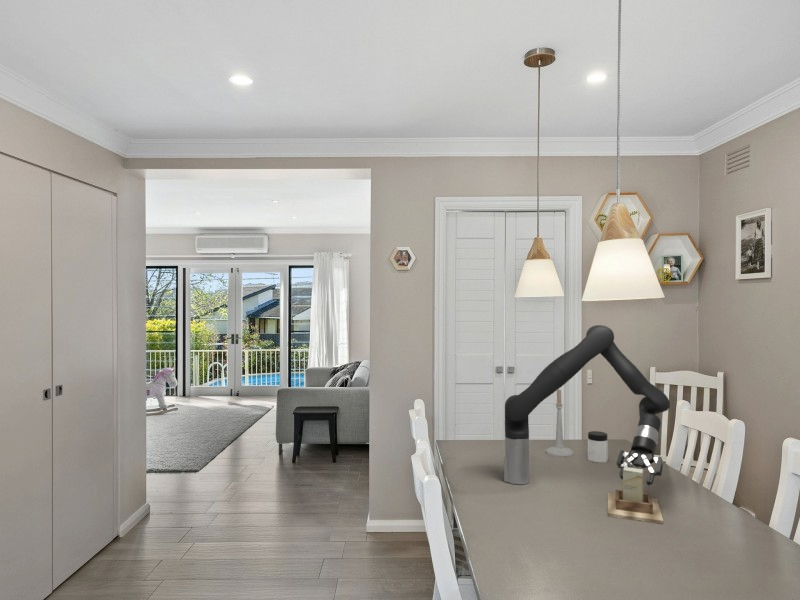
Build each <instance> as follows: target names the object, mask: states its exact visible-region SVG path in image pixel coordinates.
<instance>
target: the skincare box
mask: <svg viewBox="0 0 800 600" xmlns="http://www.w3.org/2000/svg"><path fill="white" fill-rule="evenodd" d="M622 490H623V500H626V501H634V502H642V503H643V493H644V468H637V467H635V468H634V467H631V468H629V467H624V468H623V480H622Z"/></svg>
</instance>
